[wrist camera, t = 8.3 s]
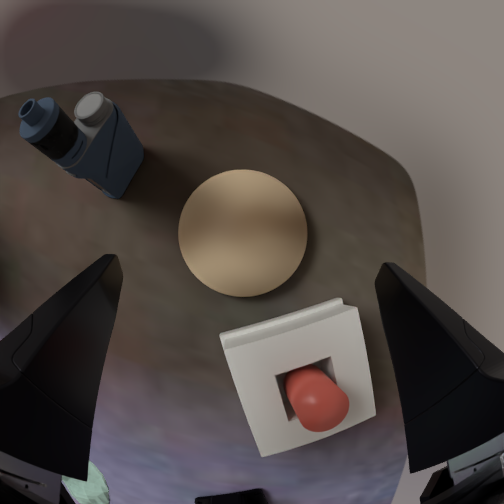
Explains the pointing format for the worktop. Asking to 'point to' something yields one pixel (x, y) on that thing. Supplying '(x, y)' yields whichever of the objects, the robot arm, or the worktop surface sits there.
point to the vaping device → (85, 140)
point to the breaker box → (294, 356)
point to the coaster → (242, 233)
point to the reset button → (315, 398)
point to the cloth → (89, 487)
